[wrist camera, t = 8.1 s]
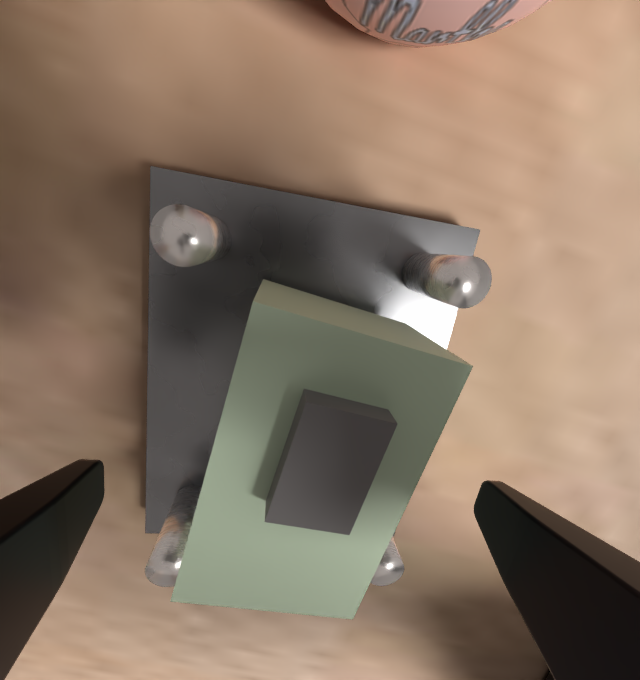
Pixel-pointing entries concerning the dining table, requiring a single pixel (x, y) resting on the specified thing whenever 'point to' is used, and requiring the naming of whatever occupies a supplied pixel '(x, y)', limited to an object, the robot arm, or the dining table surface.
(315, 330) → the pale green block
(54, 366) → the dining table surface
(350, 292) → the chassis
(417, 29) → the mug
